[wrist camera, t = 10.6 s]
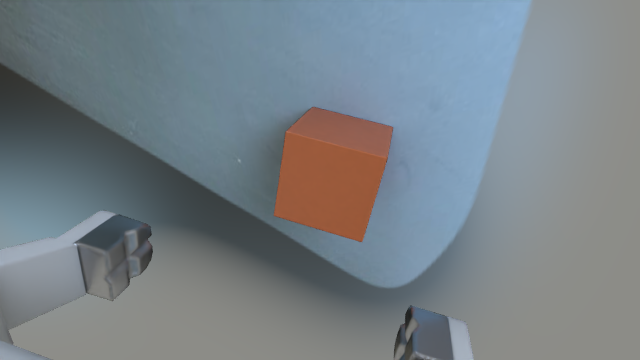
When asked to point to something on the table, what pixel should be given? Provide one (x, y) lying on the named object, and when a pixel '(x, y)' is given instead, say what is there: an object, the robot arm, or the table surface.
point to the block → (332, 172)
